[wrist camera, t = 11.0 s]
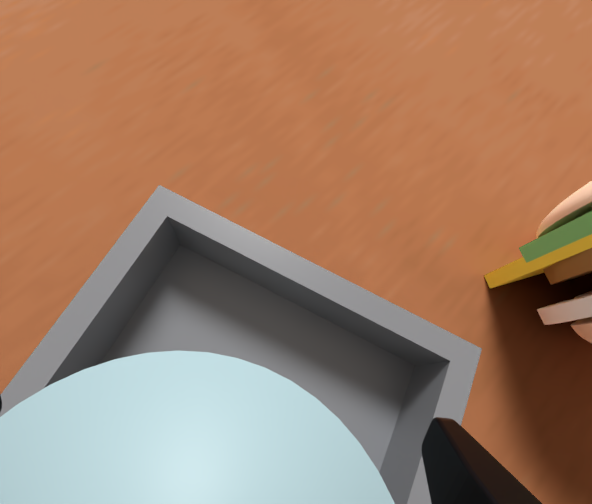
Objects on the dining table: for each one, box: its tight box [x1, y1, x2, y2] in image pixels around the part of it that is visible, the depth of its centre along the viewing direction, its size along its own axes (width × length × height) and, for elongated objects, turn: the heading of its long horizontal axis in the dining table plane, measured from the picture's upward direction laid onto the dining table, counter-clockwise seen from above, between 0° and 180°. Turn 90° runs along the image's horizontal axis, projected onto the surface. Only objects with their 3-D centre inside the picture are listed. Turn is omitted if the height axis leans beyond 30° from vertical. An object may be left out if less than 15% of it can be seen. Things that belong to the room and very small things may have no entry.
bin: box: [0, 185, 482, 504], centre depth 14 cm, size 14×14×4 cm
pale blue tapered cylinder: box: [0, 350, 395, 504], centre depth 9 cm, size 4×4×12 cm
